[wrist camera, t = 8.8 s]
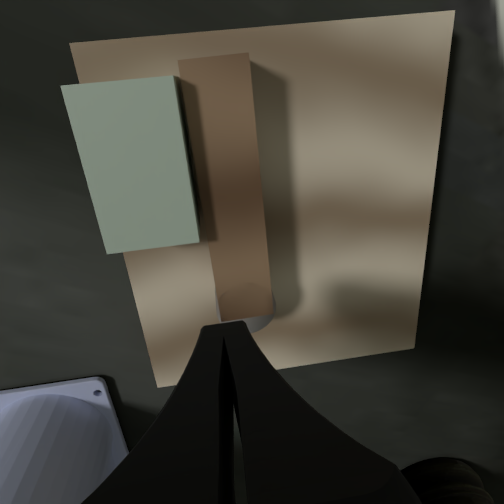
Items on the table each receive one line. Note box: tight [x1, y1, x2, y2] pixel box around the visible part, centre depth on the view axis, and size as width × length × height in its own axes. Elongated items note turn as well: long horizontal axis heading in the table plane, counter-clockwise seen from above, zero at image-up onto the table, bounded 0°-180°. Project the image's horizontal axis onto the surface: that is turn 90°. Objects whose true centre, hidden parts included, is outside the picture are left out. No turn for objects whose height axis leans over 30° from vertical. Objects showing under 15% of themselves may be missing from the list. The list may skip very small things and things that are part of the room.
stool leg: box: [177, 52, 276, 333], centre depth 16 cm, size 12×3×2 cm, turn 6°
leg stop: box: [61, 75, 200, 254], centre depth 15 cm, size 6×4×3 cm, turn 5°
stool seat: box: [69, 10, 455, 388], centre depth 19 cm, size 18×16×2 cm
